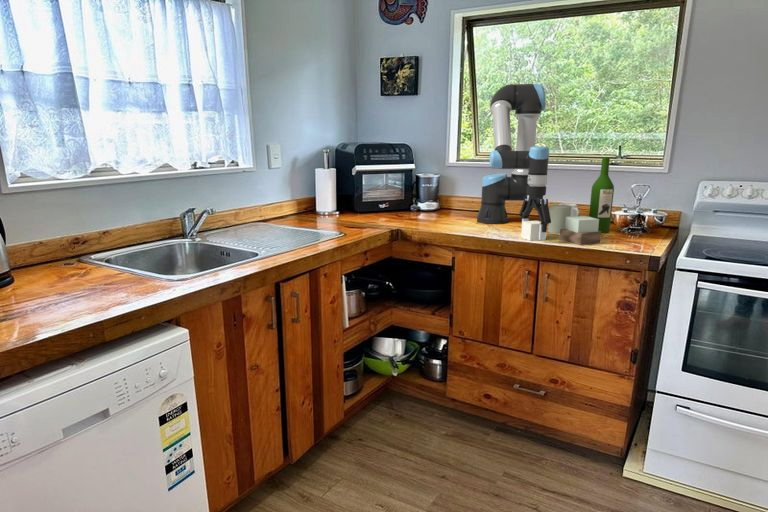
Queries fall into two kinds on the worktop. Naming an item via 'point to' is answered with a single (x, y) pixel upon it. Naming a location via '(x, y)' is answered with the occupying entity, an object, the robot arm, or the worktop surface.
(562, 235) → the base block
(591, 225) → the top block
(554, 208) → the can
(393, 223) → the worktop surface
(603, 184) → the wine bottle
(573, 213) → the mug
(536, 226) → the cube
